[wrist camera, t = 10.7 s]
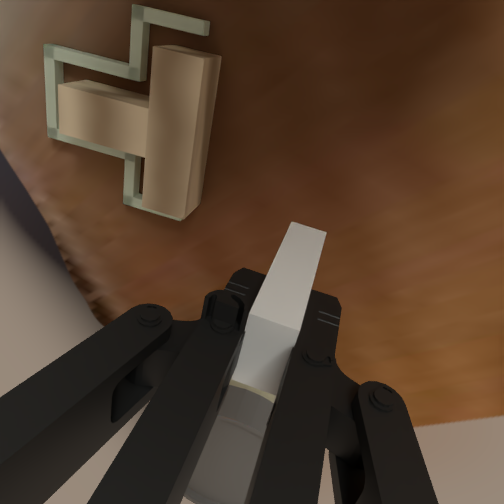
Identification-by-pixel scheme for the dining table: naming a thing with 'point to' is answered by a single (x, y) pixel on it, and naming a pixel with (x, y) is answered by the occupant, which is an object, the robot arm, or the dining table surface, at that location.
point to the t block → (153, 123)
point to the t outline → (131, 70)
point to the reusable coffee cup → (231, 447)
